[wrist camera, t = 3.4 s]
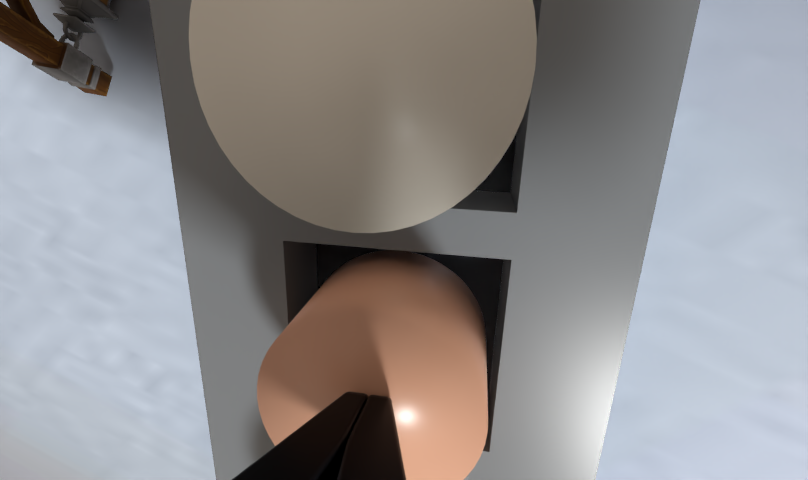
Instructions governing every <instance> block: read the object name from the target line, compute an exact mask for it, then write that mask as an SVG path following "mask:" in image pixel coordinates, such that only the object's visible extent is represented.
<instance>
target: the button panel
mask: <svg viewBox="0 0 808 480" xmlns="http://www.w3.org/2000/svg"><path fill="white" fill-rule="evenodd" d="M191 1H192V0H149V6H150V13H151V20H152V28H153V35H154V42H155V49H156V56H157V63H158V70H159V77H160V84H161V91H162V98H163V105H164V112H165V120H166V127H167V134H168V141H169V148H170V155H171V162H172V169H173V176H174V183H175V190H176V197H177V205H178V212H179V219H180V226H181V233H182V240H183V247H184V254H185V261H186V268H187V275H188V282H189V290H190V297H191V304H192V311H193V318H194V325H195V332H196V339H197V346H198V353H199V360H200V367H201V375H202V382H203V389H204V396H205V403H206V410H207V417H208V424H209V431H210V438H211V445H212V452H213V460H214V467H215V474H216V480H231V479H233V478H234V477H235V476H237V475H238V474H239V473H241V472H242V471H243V470H245V469H246V468H247V467H249V466H250V465H251V464H252V463H254V462H255V461H256V460H258V459H259V458H260V457H262V456H263V455H264V454H266V453H267V452H268V451H269V450H271V449H272V448H273V447H275V445H274V443H273V442H272V440H271V438H270V437H269V435H268V433H267V431H266V429H265V426H264V424H263V422H262V418H261V415H260V412H259V407H258V401H257V382H258V374H259V371H260V367H261V364H262V361H263V359H264V357H265V355H266V353H267V351H268V350H269V348H270V347H271V345H272V344H273V343H274V341H275V340H276V339H277V338H278V336H279V335H280V334H281V333H282V332H283V331H284V329H285V328H286V327H287V326H288V325H289V323H290V322H291V321H292V320H293V319H294V318H295V316H296V315H297V314H298V313H299V312H300V311H301V309H302V308H303V307H304V306H305V305H306V304H307V302H308V301H309V300H310V299H311V298H312V296H313V295H314V294H315V293H316V292H317V291H318V280H317V253H316V243H317V244H329V245H341V246H352V247H364V248H376V249H388V250H400V251H412V252H424V253H435V254H447V255H459V256H471V257H483V258H495V259H503V265H502V275H501V284H500V293H499V302H498V311H497V320H496V330H495V339H494V348H493V357H492V366H491V376H490V385H489V394H488V433H487V438H486V443H485V446H484V449H483V452H482V454H481V457H480V458H479V460H478V462H477V464H476V465H475V467H474V468H473V470H472V471H471V472H470V473H469V474H468V476H467V477H466V478H465V479H464V480H595V479H596V474H597V469H598V465H599V460H600V456H601V451H602V447H603V442H604V438H605V433H606V428H607V424H608V419H609V415H610V410H611V406H612V401H613V396H614V392H615V387H616V383H617V378H618V374H619V369H620V365H621V360H622V355H623V351H624V346H625V342H626V337H627V333H628V328H629V323H630V319H631V314H632V310H633V305H634V301H635V296H636V292H637V287H638V282H639V278H640V273H641V269H642V264H643V260H644V255H645V250H646V246H647V241H648V237H649V232H650V228H651V223H652V219H653V214H654V209H655V205H656V200H657V196H658V191H659V187H660V182H661V178H662V173H663V168H664V164H665V159H666V155H667V150H668V146H669V141H670V136H671V132H672V127H673V123H674V118H675V114H676V109H677V105H678V100H679V95H680V91H681V86H682V82H683V77H684V73H685V68H686V63H687V59H688V54H689V50H690V45H691V41H692V36H693V32H694V27H695V22H696V18H697V13H698V9H699V4H700V0H533V5H534V10H535V20H536V34H537V47H536V66H535V72H534V78H533V83H532V89H531V94H530V97H529V100H528V103H527V107H526V110H525V113H524V116H523V119H522V121H521V123H520V125H519V128H518V130H517V137H516V146H515V155H514V164H513V173H512V183H511V192H510V193H509V192H493V191H477V190H474V191H473V192H472V193H470V194H469V195H468V196H467V197H465V198H464V199H463V200H461V201H460V202H459V203H457V204H456V205H455V206H453V207H452V208H450V209H448V210H447V211H445V212H443V213H441V214H439V215H438V216H436V217H434V218H432V219H430V220H427V221H424V222H422V223H419V224H417V225H414V226H411V227H407V228H403V229H399V230H395V231H388V232H379V233H351V232H344V231H338V230H332V229H329V228H325V227H321V226H318V225H314V224H312V223H309V222H307V221H305V220H302V219H300V218H297V217H295V216H293V215H292V214H290V213H288V212H286V211H284V210H283V209H281V208H279V207H278V206H276V205H275V204H273V203H272V202H271V201H269V200H268V199H267V198H265V197H264V196H262V195H261V194H260V193H259V192H258V191H257V190H256V189H255V188H254V187H253V186H251V185H250V184H249V183H248V182H247V181H246V180H245V179H244V178H243V176H242V175H241V174H240V173H239V172H238V171H237V169H236V168H235V167H234V166H233V165H232V164H231V162H230V161H229V159H228V158H227V156H226V155H225V153H224V152H223V150H222V149H221V148H220V146H219V144H218V142H217V140H216V139H215V137H214V135H213V133H212V131H211V129H210V127H209V125H208V123H207V120H206V118H205V115H204V113H203V110H202V108H201V105H200V102H199V99H198V95H197V92H196V88H195V85H194V80H193V74H192V68H191V62H190V50H189V18H190V7H191Z"/></svg>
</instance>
